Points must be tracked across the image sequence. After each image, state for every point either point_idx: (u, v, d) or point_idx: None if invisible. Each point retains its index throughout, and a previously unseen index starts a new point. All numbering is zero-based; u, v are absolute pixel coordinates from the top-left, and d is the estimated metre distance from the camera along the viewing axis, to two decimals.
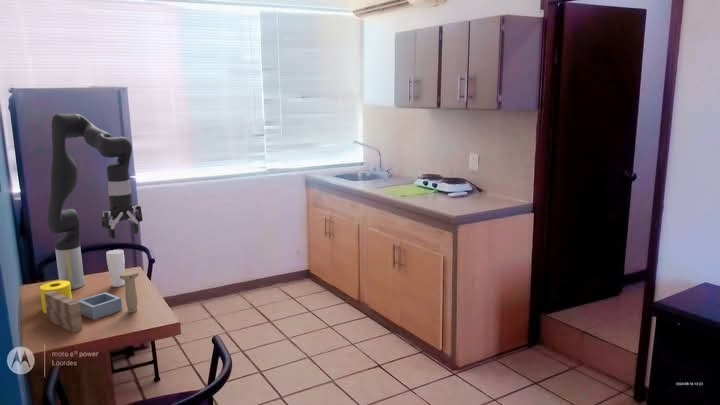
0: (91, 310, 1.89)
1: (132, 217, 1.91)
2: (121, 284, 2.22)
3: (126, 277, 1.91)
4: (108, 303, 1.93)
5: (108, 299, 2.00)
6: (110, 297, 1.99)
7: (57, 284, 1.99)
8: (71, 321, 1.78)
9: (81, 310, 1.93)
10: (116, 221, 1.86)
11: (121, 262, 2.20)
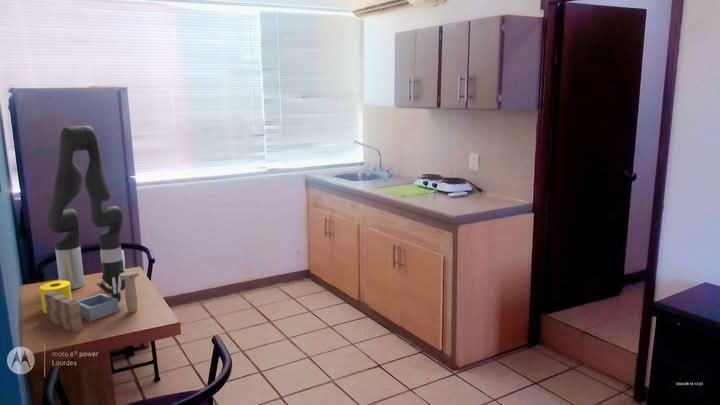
0: (88, 311, 1.87)
1: (119, 284, 1.99)
2: None
3: (126, 277, 1.91)
4: (105, 304, 1.92)
5: (105, 300, 1.99)
6: (107, 298, 1.98)
7: (57, 284, 1.99)
8: (71, 321, 1.78)
9: None
10: (114, 286, 1.98)
11: None
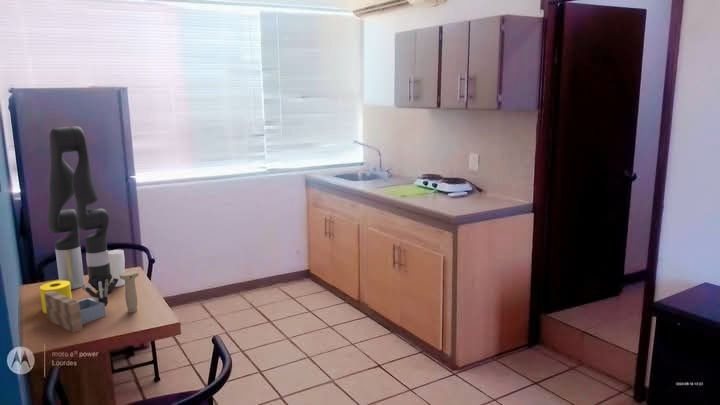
0: None
1: (106, 287, 1.95)
2: (121, 284, 2.22)
3: (126, 277, 1.91)
4: (91, 309, 1.88)
5: (91, 304, 1.95)
6: (93, 302, 1.94)
7: (57, 284, 1.99)
8: (71, 321, 1.78)
9: None
10: (101, 290, 1.94)
11: (121, 262, 2.20)
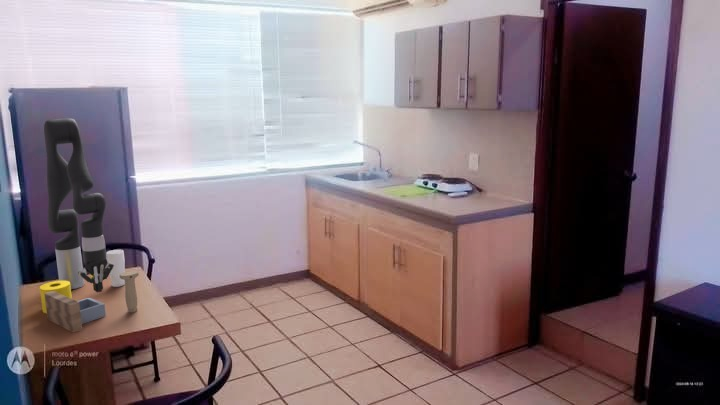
0: None
1: (101, 273, 1.93)
2: (121, 284, 2.22)
3: (126, 277, 1.91)
4: (91, 309, 1.88)
5: (91, 305, 1.95)
6: (93, 303, 1.93)
7: (57, 284, 1.99)
8: (71, 321, 1.78)
9: None
10: (96, 276, 1.92)
11: (121, 262, 2.20)
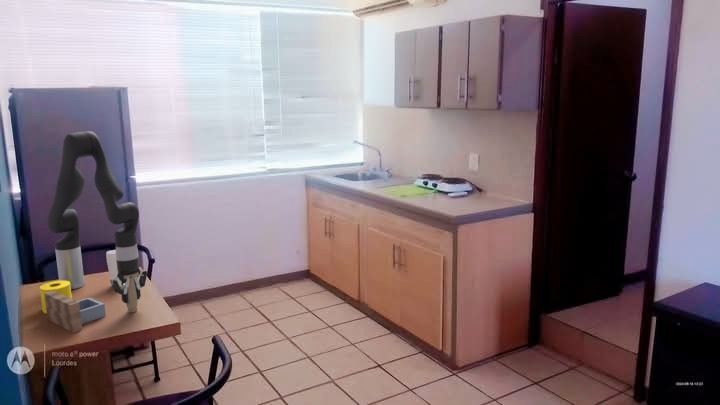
0: None
1: (137, 281, 1.94)
2: None
3: (126, 277, 1.91)
4: (91, 309, 1.88)
5: (91, 305, 1.95)
6: (93, 303, 1.93)
7: (57, 284, 1.99)
8: (71, 321, 1.78)
9: None
10: (127, 286, 1.91)
11: None
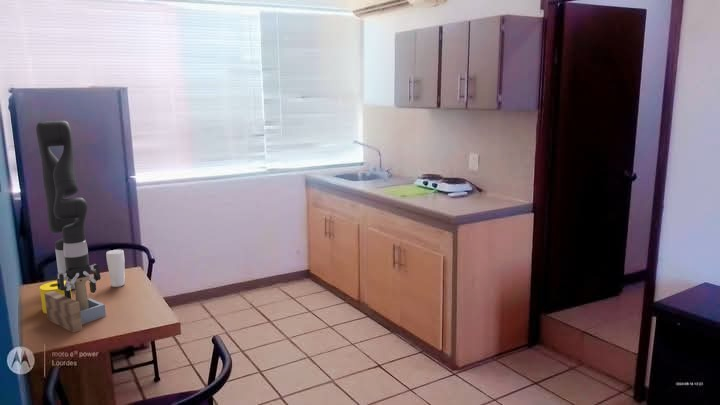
0: None
1: (89, 277, 1.90)
2: (121, 284, 2.22)
3: (76, 281, 1.86)
4: (91, 310, 1.88)
5: (92, 305, 1.95)
6: (94, 303, 1.94)
7: None
8: (71, 321, 1.78)
9: None
10: (72, 282, 1.85)
11: (121, 262, 2.20)
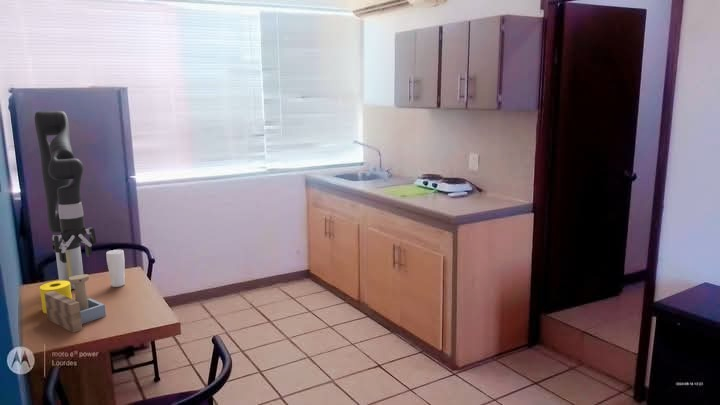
0: None
1: (85, 240, 1.87)
2: (121, 284, 2.22)
3: (75, 281, 1.86)
4: (92, 310, 1.88)
5: (92, 305, 1.95)
6: (94, 303, 1.94)
7: (57, 284, 1.99)
8: (71, 321, 1.78)
9: None
10: (67, 245, 1.82)
11: (121, 262, 2.20)
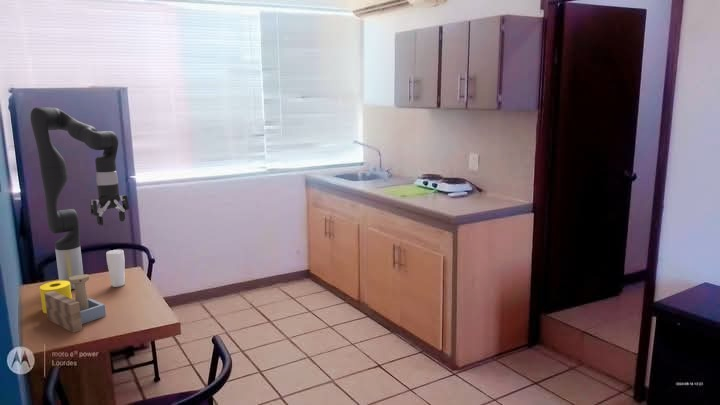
0: None
1: (119, 205, 2.06)
2: (121, 284, 2.22)
3: (75, 281, 1.86)
4: (92, 310, 1.88)
5: (92, 305, 1.95)
6: (94, 303, 1.94)
7: (57, 284, 1.99)
8: (71, 321, 1.78)
9: None
10: (104, 209, 2.02)
11: (121, 262, 2.20)
